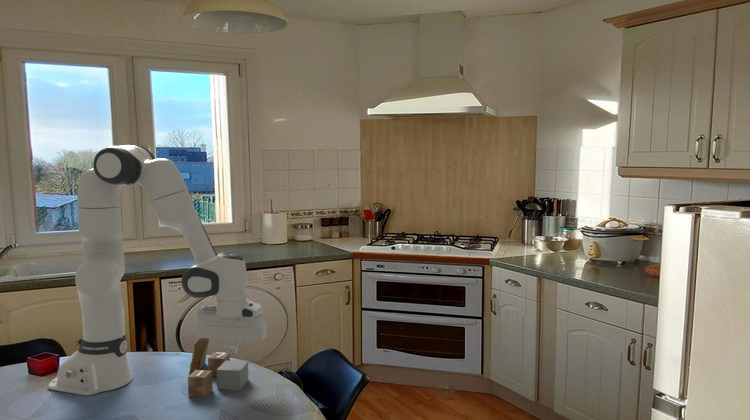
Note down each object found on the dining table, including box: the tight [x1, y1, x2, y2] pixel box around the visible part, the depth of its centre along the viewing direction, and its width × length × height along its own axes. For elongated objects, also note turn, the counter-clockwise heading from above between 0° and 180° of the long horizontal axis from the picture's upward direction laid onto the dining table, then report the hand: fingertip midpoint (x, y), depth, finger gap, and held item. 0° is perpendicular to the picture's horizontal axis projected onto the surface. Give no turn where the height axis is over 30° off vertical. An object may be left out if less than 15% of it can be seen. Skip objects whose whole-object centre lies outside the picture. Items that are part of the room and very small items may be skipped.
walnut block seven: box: [207, 351, 231, 378], centre depth 169 cm, size 5×5×6 cm
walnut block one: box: [187, 369, 214, 399], centre depth 155 cm, size 5×5×6 cm
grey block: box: [216, 360, 249, 391], centre depth 161 cm, size 7×7×6 cm
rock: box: [188, 338, 210, 375], centre depth 172 cm, size 11×9×10 cm
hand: (231, 353), depth 160 cm, fingers closed
